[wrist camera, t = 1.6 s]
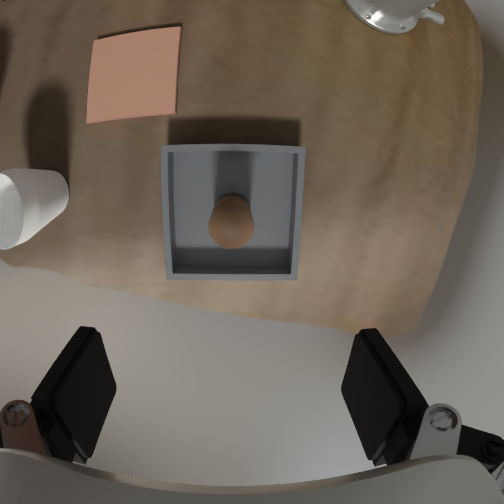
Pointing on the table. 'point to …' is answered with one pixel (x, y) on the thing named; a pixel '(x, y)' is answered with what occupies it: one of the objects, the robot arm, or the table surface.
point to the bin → (222, 182)
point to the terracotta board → (134, 75)
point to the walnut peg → (231, 221)
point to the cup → (29, 203)
